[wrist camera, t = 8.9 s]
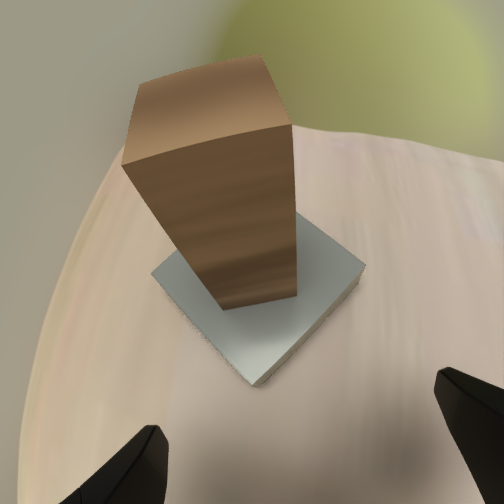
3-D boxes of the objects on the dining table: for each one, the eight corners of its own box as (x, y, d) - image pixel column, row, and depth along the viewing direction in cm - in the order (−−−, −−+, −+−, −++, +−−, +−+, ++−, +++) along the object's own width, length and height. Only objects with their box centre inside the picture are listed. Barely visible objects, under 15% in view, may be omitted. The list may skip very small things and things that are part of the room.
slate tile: (258, 387, 19) (251, 385, 16) (166, 289, 23) (150, 273, 20) (358, 282, 21) (366, 264, 18) (260, 206, 25) (255, 182, 23)
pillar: (296, 296, 18) (291, 123, 7) (222, 310, 18) (121, 165, 7) (281, 232, 20) (259, 54, 9) (215, 246, 20) (139, 84, 9)
